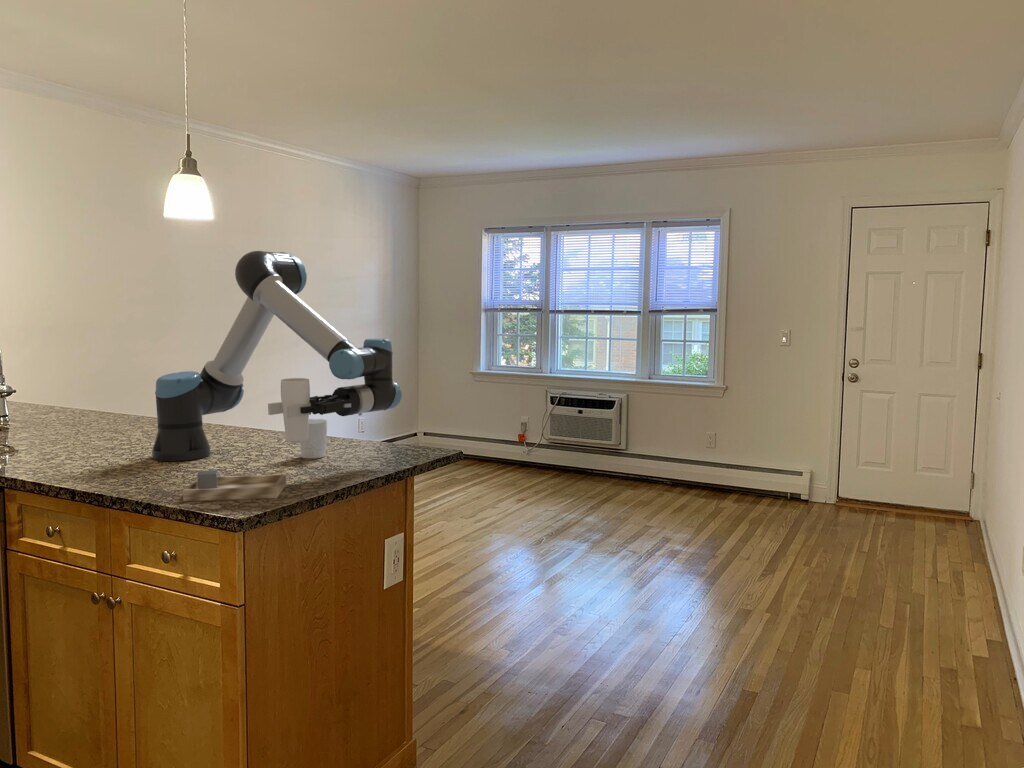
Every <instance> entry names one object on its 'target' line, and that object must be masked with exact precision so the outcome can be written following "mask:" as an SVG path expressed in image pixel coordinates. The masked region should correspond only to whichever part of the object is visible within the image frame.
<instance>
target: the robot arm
mask: <svg viewBox="0 0 1024 768" xmlns="http://www.w3.org/2000/svg"><path fill="white" fill-rule="evenodd" d="M307 274H308V273H307V272H306V267H305V265H304V263H303V262H302V260H301V259H300V258H299V257H298V256H296V255H294V254H293V253H287V252H284V251H283V252H274V251H263V250H254V251H249V252H247V253H246V254H244V255H243V256H241V258H240V259H239V260H238V261H237V264H236V265H235V271H234V275H235V281H236V283H237V285H238V287H239V288H240V290H241V291H242V292H243V294H244V295H246V296H247V297H246V300H245V301H244V303H243V305H242V307H241V309H240V311H239V313H238V314H237V317H236V318H235V320H234V322H233V324H232V325H231V328H230V330H229V332H227V335H226V337H225V339H224V341H223V343H222V344H221V346H220V348H219V349H218V352H217V353H216V355H215V357H214V359H213V360H209V361H207V362H206V363H205V364H204V366H203V368H202V369H201V372H200V373H199V372H198V371H193V370H191V371H190V370H189V371H188V370H187V371H178V372H172V373H166V374H164V375H161V376H160V377H158V378H157V380H156V381H155V390H154V391H155V392H154V395H155V405H156V406H155V407H156V421H157V432H156V436H155V440H154V443H153V447H152V450H151V451H152V455H151V456H152V459H153V460H154V461H158V462H182V461H183V462H184V461H191V460H198V459H199V460H200V459H203V458H206V457H209V456H210V455H211V446H210V445H211V444H210V442H209V439H208V437H207V435H206V432H205V430H204V425H203V416H206V415H211V414H212V415H213V414H217V413H225V412H227V411H229V410H232V409H234V408H235V407H237V406H238V405H239V404H240V402H242V401H241V400H242V399H243V397H244V391H245V390H244V389H243V388H244V383H243V382H244V376H243V372H244V370H245V368H246V366H247V365H248V362H249V361H250V359H251V357H252V355H254V354H253V353H254V351H255V350H256V348H257V346H258V345H259V342H260V341H261V339H262V337H263V336H264V334H265V332H266V330H267V328H268V326H269V325H270V323H271V321H272V319H273V317H274V316H276V317H277V319H279V320H280V321H281V322H282V323H283V324H285V325H286V326H287V327H288V328H289V329H290V330H291V331H292V332H294V333H295V334H296V335H297V336H298V337H299V338H300V339H302V340H303V342H305V343H307V345H308V346H310V347H311V348H312V349H313V350H314V351H316V353H318V354H319V355H320V356H321V357H322V358H323V359H324V360H326V361H327V362H328V366H329V370H330V372H331V374H332V375H333V376H334V377H335V378H337V379H339V380H355V379H357V378H362V377H363V378H364V379H363V380H364V384H355V385H349V386H347V385H346V386H341V387H337V388H336V389H335V390H334V391H333V392H332V394H325V395H323V396H319V395H315V396H310V403H306V404H298V405H291V406H287V417H288V418H290V417H297V416H304V415H309V416H311V415H317V414H319V415H321V416H323V415H327V414H333V413H336V414H337V415H338V416H339V417H347V416H354V415H358V416H362V415H363V413H364V414H366V413H372V412H380V411H387V410H390V409H394V408H396V407H397V406H398V405H399V404H401V401H402V394H403V392H402V391H401V388H400V386H399V384H398V383H397V382H395V381H394V380H393V348H392V341H391V339H389V338H367V339H365V340H364V341H363V346H362V347H357V346H355V345H354V343H352V342H351V341H350V340H349V339H347V338H346V336H344V335H343V334H342V333H341V332H339V331H338V330H337V328H335V327H334V326H332V325H331V324H330V323H329V322H328V321H327V320H326V319H325V318H323V317H322V316H321V315H320V314H319V313H318V312H316V311H315V310H314V309H313V308H312V307H310V306H309V304H307V303H306V302H305V301H304V300H302V299H301V298H300V297H299V296H298V294H300V293H302V291H303V290H304V289H305V287H306V284H307V279H308V275H307ZM267 408H268V409H267V412H268V415H269V416H273V415H274V416H275V415H281V414H283V409H282V401H278V402H271V403H267Z"/></svg>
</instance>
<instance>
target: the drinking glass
mask: <svg viewBox="0 0 1024 768" xmlns="http://www.w3.org/2000/svg"><path fill="white" fill-rule="evenodd" d="M310 397H311V386H310V379H309V378H305V377H293V378H283V379H280V399H281V401H280V402H282V409H283V413H282V417H283V426H284V438H285V440H286V442H289V443H300V442H303V441H306V440H307V439H308V420H309V417H310V415H304V416H297V417H290V418H288V417H287V406H291V405H298V404H306V403H310Z"/></svg>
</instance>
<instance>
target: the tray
mask: <svg viewBox="0 0 1024 768" xmlns="http://www.w3.org/2000/svg"><path fill="white" fill-rule="evenodd" d="M287 484H288V483H287V474H264V475H263V474H262V475H261V474H259V475H257V474H255V475H231V476H230V475H225V476H222V475H221V476H218V488H214V489H198V477H197V478H196V479H195V480H194V481H192V482H191V483H190V484H188V486H186V487H185V488H184V489H183V490H182V498H183V499H182V501H183V502H189V501H190V502H193V501H196V502H197V501H221V500H223V501H225V500H226V501H227V500H228V501H229V500H254V499H255V500H256V499H277V498H278V497H279V496H280V494H281V493H282V492H283V490H284V489H285V488H286V486H287Z"/></svg>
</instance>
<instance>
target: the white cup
mask: <svg viewBox="0 0 1024 768" xmlns="http://www.w3.org/2000/svg"><path fill="white" fill-rule="evenodd" d="M327 442H328V420H326V419H321V418H319V419H317V418H315V419H314V418H312V419H311V418H310V419H309V420H308V439H307V440H306V441H303V442H299V446H300V453H301V455H300V457H301V458H303V459H321V458H325V457H326V456H327Z"/></svg>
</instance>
